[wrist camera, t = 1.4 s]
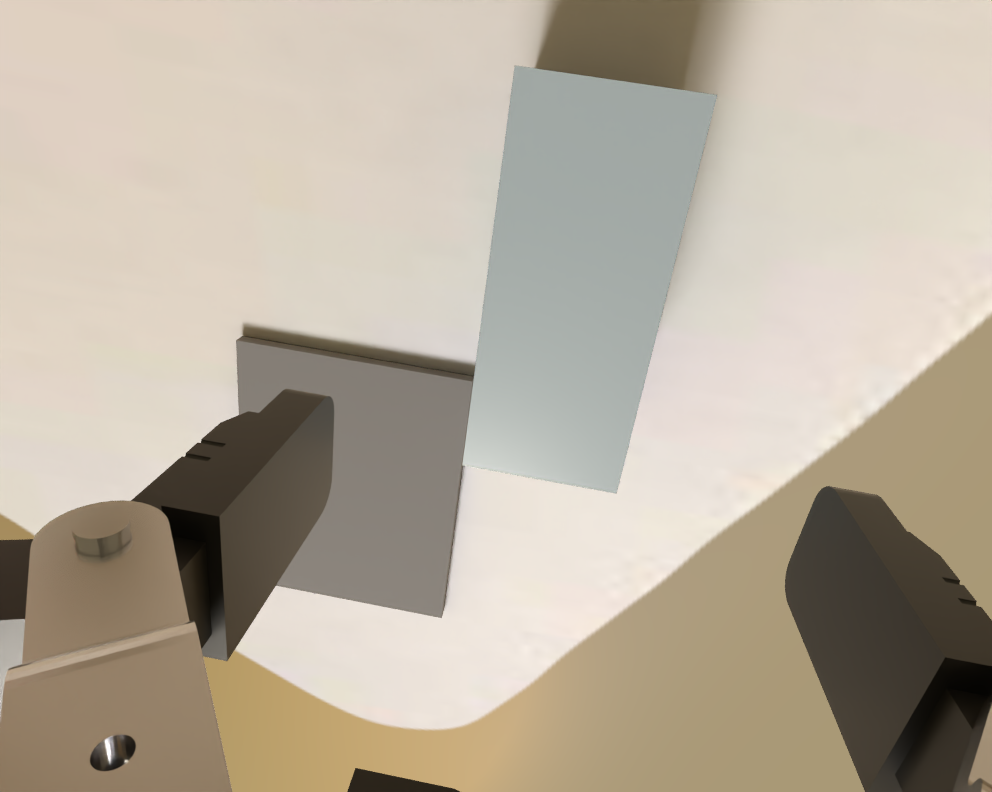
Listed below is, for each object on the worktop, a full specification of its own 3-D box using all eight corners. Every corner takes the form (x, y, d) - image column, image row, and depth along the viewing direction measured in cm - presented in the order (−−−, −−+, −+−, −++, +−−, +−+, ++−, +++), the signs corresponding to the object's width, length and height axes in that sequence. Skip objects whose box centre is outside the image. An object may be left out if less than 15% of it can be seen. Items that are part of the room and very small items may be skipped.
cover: (532, 76, 24) (515, 65, 18) (682, 98, 24) (717, 95, 18) (488, 389, 30) (462, 465, 23) (609, 410, 30) (616, 493, 23)
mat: (242, 336, 30) (236, 340, 30) (474, 376, 30) (472, 381, 29) (249, 572, 36) (244, 579, 36) (443, 610, 36) (441, 617, 35)
